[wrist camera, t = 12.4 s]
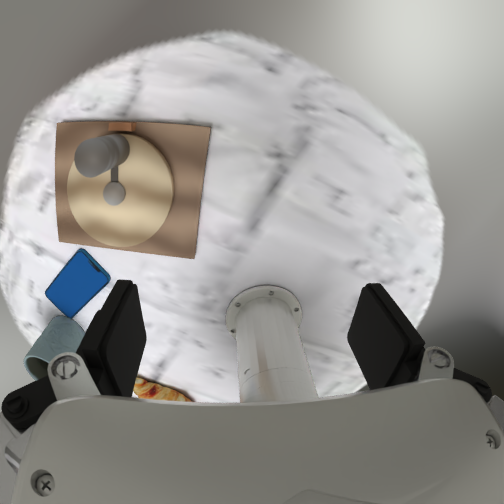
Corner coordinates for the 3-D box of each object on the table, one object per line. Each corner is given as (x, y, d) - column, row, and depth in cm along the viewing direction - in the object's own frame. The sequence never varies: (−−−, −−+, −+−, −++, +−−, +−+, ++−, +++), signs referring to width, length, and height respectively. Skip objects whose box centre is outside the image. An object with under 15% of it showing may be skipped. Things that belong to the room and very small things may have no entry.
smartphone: (43, 293, 42) (79, 247, 38) (45, 290, 43) (82, 245, 39) (70, 320, 45) (111, 280, 41) (72, 317, 46) (113, 277, 42)
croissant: (129, 367, 56) (113, 395, 50) (147, 367, 50) (129, 401, 44) (197, 410, 63) (185, 436, 58) (222, 414, 57) (210, 443, 52)
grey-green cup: (82, 315, 45) (56, 360, 34) (96, 354, 49) (79, 398, 38) (42, 311, 44) (14, 351, 33) (58, 348, 48) (37, 388, 37)
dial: (172, 245, 38) (160, 278, 30) (77, 238, 36) (49, 267, 29) (177, 133, 32) (161, 137, 24) (72, 135, 30) (35, 143, 22)
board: (195, 254, 41) (192, 265, 38) (63, 237, 38) (53, 247, 35) (211, 127, 34) (209, 127, 30) (62, 122, 30) (49, 123, 27)
